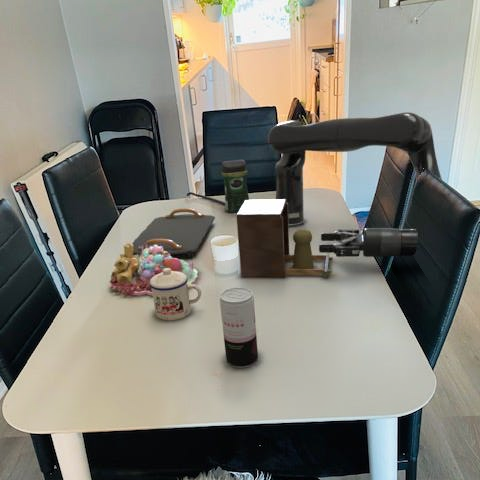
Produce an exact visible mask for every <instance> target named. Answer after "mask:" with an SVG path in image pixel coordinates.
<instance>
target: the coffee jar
mask: <svg viewBox="0 0 480 480" xmlns="http://www.w3.org/2000/svg"><path fill="white" fill-rule="evenodd" d="M247 174H248V167H247V163H246V161H245V160H244V159H234V160H227V161H223V162H222V163H221V175H222V178H223V180H224V181H223V182H224V202H225V205H224V206H225V210H226V211H227V212H228V213H238V211H239V210H240V208H241V206H242V205H243V203H244V202H245V200H250V196H249V191H248V185H247Z"/></svg>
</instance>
